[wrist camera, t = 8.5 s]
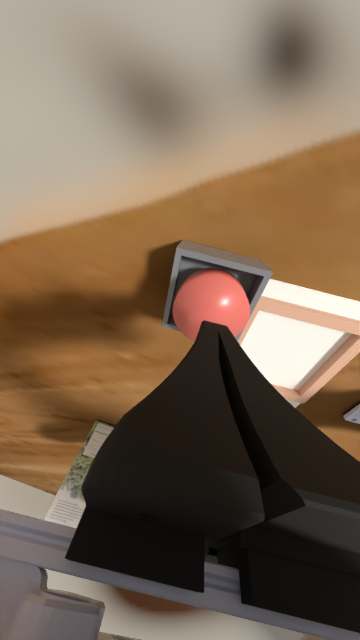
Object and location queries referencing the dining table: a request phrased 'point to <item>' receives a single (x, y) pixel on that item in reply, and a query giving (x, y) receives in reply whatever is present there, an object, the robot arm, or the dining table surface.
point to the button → (211, 302)
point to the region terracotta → (356, 327)
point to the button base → (200, 257)
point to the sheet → (295, 336)
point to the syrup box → (77, 480)
